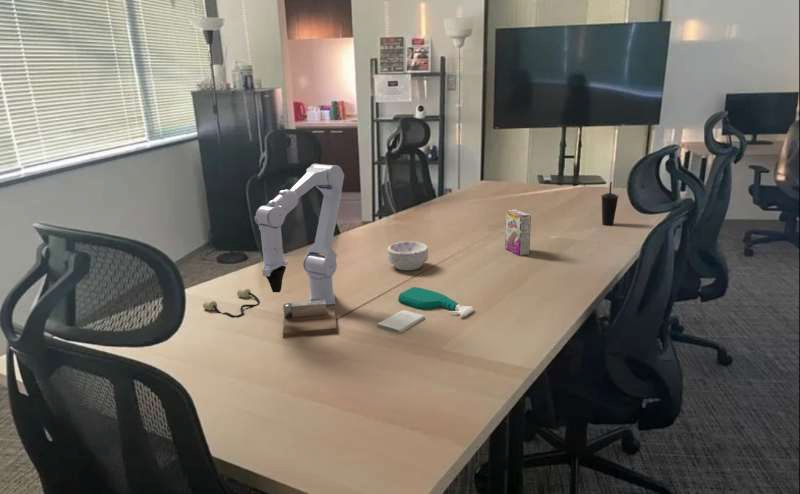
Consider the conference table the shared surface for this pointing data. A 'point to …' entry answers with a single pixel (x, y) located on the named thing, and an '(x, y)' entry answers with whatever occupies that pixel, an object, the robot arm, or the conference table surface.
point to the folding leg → (305, 308)
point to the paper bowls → (407, 255)
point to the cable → (241, 293)
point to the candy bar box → (518, 232)
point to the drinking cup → (609, 207)
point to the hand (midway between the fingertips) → (276, 291)
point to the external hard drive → (400, 321)
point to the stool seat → (310, 324)
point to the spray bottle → (432, 301)
